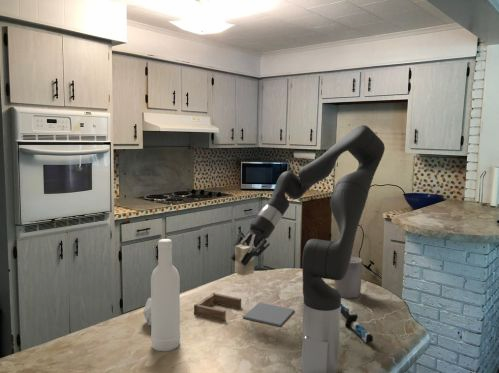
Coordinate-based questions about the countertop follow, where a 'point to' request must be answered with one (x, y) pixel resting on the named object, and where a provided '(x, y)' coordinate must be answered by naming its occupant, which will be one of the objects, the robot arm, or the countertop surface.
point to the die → (148, 311)
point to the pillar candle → (351, 279)
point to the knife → (355, 325)
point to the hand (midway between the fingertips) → (237, 262)
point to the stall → (206, 311)
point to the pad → (269, 314)
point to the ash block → (239, 254)
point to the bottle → (165, 301)
